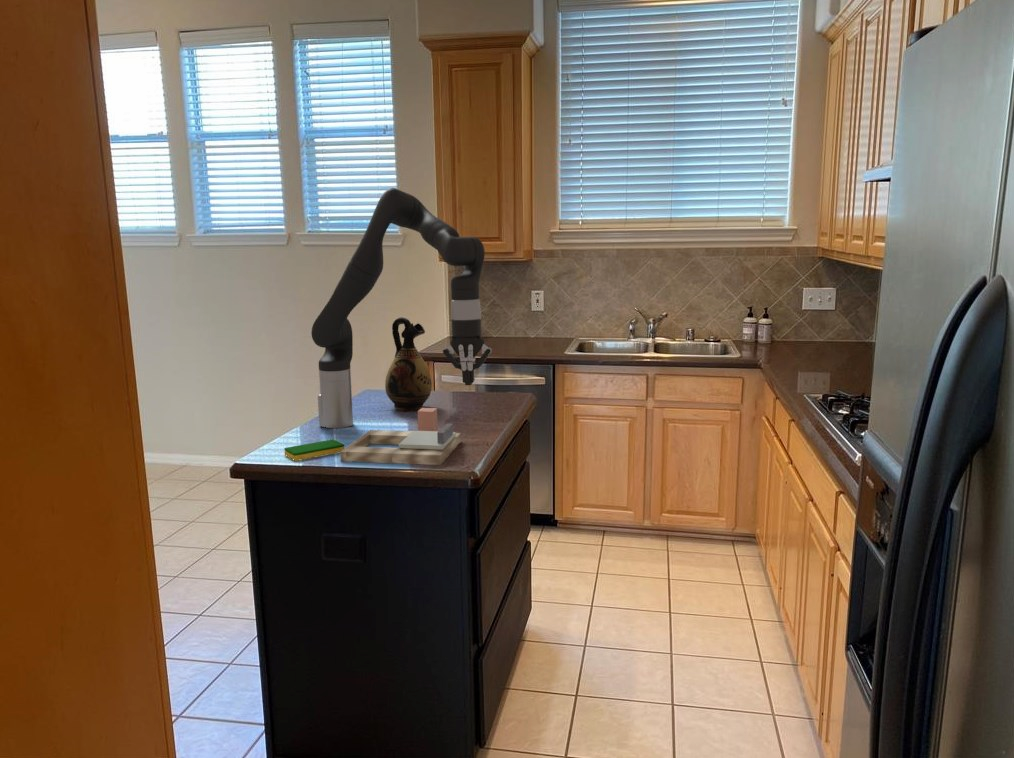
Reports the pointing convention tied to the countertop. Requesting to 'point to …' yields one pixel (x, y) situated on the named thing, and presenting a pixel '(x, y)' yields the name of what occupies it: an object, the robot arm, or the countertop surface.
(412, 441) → the cover
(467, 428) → the countertop surface
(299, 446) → the dish sponge
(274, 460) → the countertop surface
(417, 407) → the ceramic jug
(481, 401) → the countertop surface
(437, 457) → the board
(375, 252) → the robot arm
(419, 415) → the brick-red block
